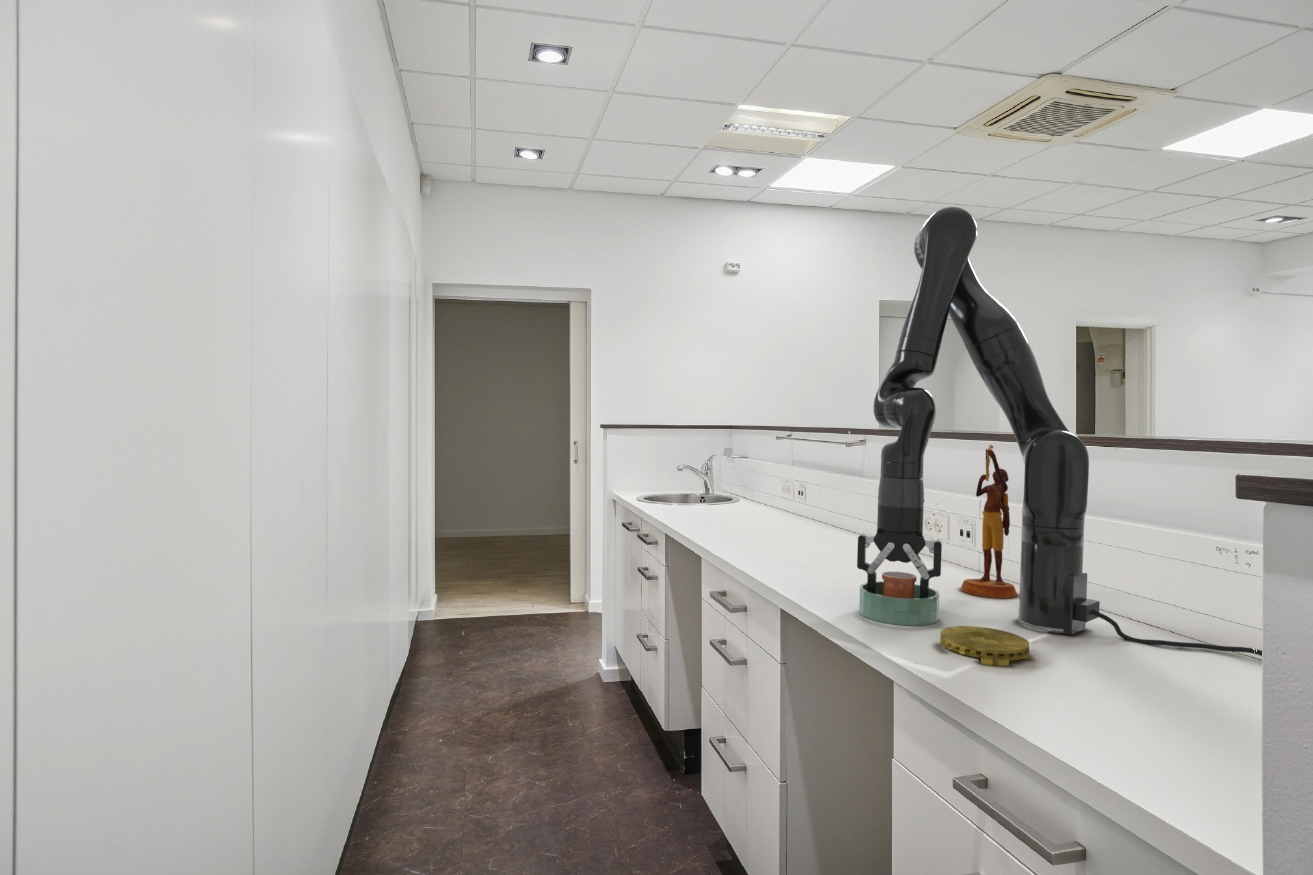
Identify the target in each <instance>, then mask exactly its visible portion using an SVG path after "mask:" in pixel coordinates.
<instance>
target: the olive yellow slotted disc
mask: <svg viewBox="0 0 1313 875" xmlns="http://www.w3.org/2000/svg"><path fill="white" fill-rule="evenodd" d="M939 638H940V643H939V644H940V646H941V647H942V648H943V649H945V650H949V651H952V652H953V653H957V654H960V655H963V656H966V657H967V656H968V657H972V658H976V659H977V658H978V659H980V665H987V666H998V667H999V666H1000V667H1009V666H1010V661H1019V660H1022V659H1023V660H1027V661H1029V659H1030V641H1028V640H1027V639H1026V638H1024V637H1022V636H1020V635H1018V634H1015V633H1012V632H1009V631H1006V630H1001V629H996V628H990V627H984V626H974V625H955V626H949V627H945V628H942V629H941V630H940V637H939Z"/></svg>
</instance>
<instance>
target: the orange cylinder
mask: <svg viewBox="0 0 1313 875" xmlns="http://www.w3.org/2000/svg"><path fill="white" fill-rule="evenodd" d="M917 578H918V577H917V575H915V574H913V573H909V572H903V571H884V572H882V573H881V579H882V581H883V596H889V597H895V598H914V596H915V584H916V582H917Z"/></svg>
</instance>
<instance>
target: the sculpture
mask: <svg viewBox="0 0 1313 875" xmlns="http://www.w3.org/2000/svg"><path fill="white" fill-rule="evenodd" d="M993 449H994V446H993V445H992V444H989V446H988V448H985V474H981V476H980V477H979V479H978V483H977V487H976V492H975V496H976V497H977V498H978V497H981V496H983V495H984V494H986V501H985V503H984V506H983V511H982V528H981V529H982V531H981V533H982V536H981V537H982V538H981V540H982V541H981V542H982V543H981V547H982V552H983V575H982V576H981V578H967V579H964V580H963V582H962V583H961V586H960V588H961V591H962V592H964V593H967V594H969V595H973V596H979V597H985V598H992V599H1010V598H1011V599H1012V598H1015V597H1016V596H1018V592H1017V589H1016V587H1015V586H1014V584H1013V583H1010V582H1006V581H1004V580H1003V578H1002V566H1003V550H1004V536H1005V537H1008V536H1009V534H1010V526H1011V520H1010V506H1009V494H1008V493H1007V491H1008V490H1009V486H1008V484H1007V482H1009V480H1010V479H1009V475H1008V472H1007V470H1005V469H1003V468H1001V467H1000V465H999V463H998V459H997V455H996V454H995V452H994V450H993ZM991 461H992V465H993V468H994V471H993V472H992V479H993V483H992V484H989V485H988V484H987V485H985V486H983V483H984V481H986V482H987V483H988V482H989V479H990V476H991V475H990V463H991ZM992 549H993V553H992ZM992 554H994V563H995V574H996V575H995V576H996V578H995V579H991V567H992V564H993V563H992V562H993V555H992Z"/></svg>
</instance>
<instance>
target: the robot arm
mask: <svg viewBox="0 0 1313 875" xmlns="http://www.w3.org/2000/svg"><path fill="white" fill-rule="evenodd" d="M977 237H978V227H977V222H976V220H975V218H974V217H973V216H972V214H971V213H970V212H969V211H968V210H966V209H964V208H962V207H959V206H946V207H943V208H941V209H938V210H936V211H935V212H934V213H933V214H931V215H930V217H929V218H928V219H927V220H926V221H925V223H924V224H923V226H922V227H921V229H920V230H919V231H918V233H917V235H916V237H915V239H914V243H913V254H914V258H915V260H916V262H917V264H918V265H919V267H920V269H921V273H920V277H919V281H918V284H917V287H916V290H915V293H914V296H913V299H912V301H911V304H910V305H909V308H908V311H907V314H906V317H905V319H904V322H903V324H902V327H901V331H900V335H899V339H898V343H897V347H896V350H895V355H894V359H893V362H892V363H891V365H890V367H889V368H888V370H887V372H886V374H885V376H884V378H883V380H882V381H881V383H880V385H879V386H878V389H877V392H876V394H875V396H874V400H873V407H872V409H873V410H872V411H873V416H874V418H875V420H876V422H877V423H878V424H879V425H880V426H881V427H883V428H886V429H900V431H899V434H898V437H897V438H896V440H895V441H892V442H887V443H885V444H884V445H883V447H882V448H881V453H880V476H879V484H878V490H877V517H876V518H877V519H876V520H877V522H876V533H875V535H866V534H865V533H860V534H859V535H858V537H857V551H856V552H857V556H856V557H857V558H856V559H857V560H856V568H857V569H858V570H862V571H864V572H866V575H867V580H866V581H867V582H866V583H867V589H868V591H869V592H871V593H874V594H876V582H877V574H878V572H877V570H878V569H879V568H880V566H881V565H882V564H883V562H884V561H885V560H887V561H888V562H893V563H894V562H901V563H902V564H903V563H904V564H909V563H912V564H913V566H914V568H915V569H916V570H917V572H918V573H919V575H920V577H919V578H920V579H919V585H920V598H927V597H928V590H929V588H930V587H929V586H930V580H931V579H932V578H935V577H936V578H939V577H940V576H941V575H942V552H943V550H942V549H943V545H942V541H941V540H940V539H935V540H931V539H930V540H929V539H925V537H924V508H925V506H924V505H925V487H924V486H925V485H924V462H925V461H924V459H925V458H924V456H925V452H926V450H927V446H928V444H929V439H930V436H931V434H932V430H933V427H934V424H935V420H936V414H937V407H936V402H935V399H934V397H933V395H932V393H931V392H929V391H928V390H927V389H925V388H924V387H915V386H916V385H917V383H919V382H921V381H923V380H926V379H928V378H931V377H932V376H933V375H934V373H935V371H936V368H937V363H938V359H939V356H940V352H941V348H942V343H943V340H944V334H945V331H946V327H947V322H948V317H950V320H951V321H952V323H953V325H954V327H955V329H956V331H957V333H958V335H959V337H960V339H961V342H962V344H963V346H964V349H965V350H966V352H967V354H968V356H969V358H970V360H971V363H972V364H973V366H974V368H975V369H976V372H977V373H978V375H979V376H980V379H981V380H982V382H983V383H984V385H985V387H986V388H987V390H988V392H990V395H992V398H994V400H995V402H996V403H997V404H998V406H999V407H1000V409H1001V411H1002V412H1003V413H1004V415H1005V417H1006V420H1007V421H1008V423H1009V425H1010V428H1011V430H1012V433H1013V435H1014V437H1015V440H1016V443H1017V445H1018V449H1019V451H1020V455H1021V457H1022V461H1023V464H1024V477H1023V478H1024V480H1023V499H1022V500H1023V501H1022V509H1021V539H1020V540H1021V541H1020V542H1021V543H1020V568H1019V569H1020V570H1019V594H1018V596H1019V597H1018V598H1019V600H1018V604H1019V605H1018V616H1017V620H1018V622H1020V623H1021V624H1023V625H1025V626H1028V627H1031V628H1035V629H1040V630H1046V631H1047V633H1053V634H1064V635H1068V636H1069V635H1070V636H1072V635H1073V636H1074V634H1077V633H1080V632H1082V631H1084V630H1086V628H1087V623H1088V622H1091V621H1094V620H1096V619H1098V618H1100V619H1102V620H1104V621H1106V622H1107V623H1109V625H1111V626H1112V627H1113V628H1114V630H1115V632H1116V634H1117V635H1118V636H1119V637H1120V638H1122V639H1124V640H1125V641H1128V642H1133V643H1137V644H1138V643H1139V644H1145V645H1151V646H1152V645H1154V646H1155V645H1156V646H1166V647H1167V646H1168V647H1175V648H1188V649H1189V648H1191V649H1205V650H1211V651H1220V652H1235V653H1248V654H1253V655H1257V656H1261V657H1263V656H1262V651H1263V650H1261V649H1257V648H1254V649H1255V651H1254V650H1253V649H1252V647H1247V648H1246V646H1230V645H1229V646H1228V645H1217V644H1210V643H1209V644H1208V643H1202V642H1201V643H1200V642H1186V641H1185V642H1183V641H1172V640H1171V641H1170V640H1164V639H1163V640H1162V639H1145V638H1144V639H1143V638H1136V637H1133V636H1131V635H1128V634H1126V633H1124V632H1123V631H1122V629H1121V627H1120V626H1119V624H1118V622H1116V621H1115V620H1114V619H1113V618H1111V617H1110V616H1108V615H1106V614H1104V613H1102V612H1100V602H1101V601H1100V600H1095V599H1092V598H1091V599H1090V598H1087V597H1088V572H1086V571H1084V545H1085V544H1084V543H1085V542H1084V541H1085V522H1086V521H1085V519H1086V514H1087V509H1088V493H1089V492H1088V491H1089V478H1090V477H1089V475H1090V457H1089V456H1090V455H1089V451H1088V448H1087V446H1086V444H1085V443H1084V442H1083V441H1082V440H1081V438H1079V437H1078V436H1077V435H1075V434H1074V433H1071V432H1070V430H1069V429H1068V428H1067V426H1066V425H1065V423H1064V421H1062V418H1061V417H1060V415H1059V414H1058V411H1057V410H1056V409H1055V408H1054V407H1055V406H1053V403H1052V402H1051V400H1050V398H1049V396H1048V394H1047V391H1046V387H1045V384H1044V381H1043V377H1042V373H1041V371H1040V368H1039V365H1038V362H1037V359H1036V357H1035V355H1034V352H1033V349H1032V347H1031V345H1030V343H1029V341H1028V339H1027V337H1026V335H1025V334H1024V331H1023V330H1022V328H1021V326H1020V324H1019V322H1018V321H1017V318H1015V316H1014V315H1013V314H1012V313H1011V312H1010V311H1009V310H1008V309H1007V308H1006V307H1005V306H1004V305H1003V304H1002V303H1001V302H1000V301H998V300H997V299H996V298H995V297H994V296H992V295H991V294H990V293H989V292H988V291H987V290H986V289H985V287H984V286H983V285H982V284H981V282H980V280H979V278H978V276H977V275H976V273H975V270H974V268H973V266H972V264H971V261H970V259H969V256H970V254H971V251H972V249H973V247H974V246H975V244H976V241H977ZM872 543H874V545H875V546H876V547H877V549H878V550H879V552H878V554H877V556H876V557H875V558H874V559H873V561H872V562H871V563H869V562H867V561H866V557H867V555H866V554H867V548H870V546H871V544H872ZM925 547H927V548H928V552H929V553H930V554H933V560H932V562H933V563H932V564H933V566H932V568H927V566H926V564H925V563H924V561H923V559H922V558H921V557H920V555H919V554H920V553H921V552H922V551H923V549H924V548H925ZM1256 649H1257V652H1256ZM1254 652H1255V653H1254Z"/></svg>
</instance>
